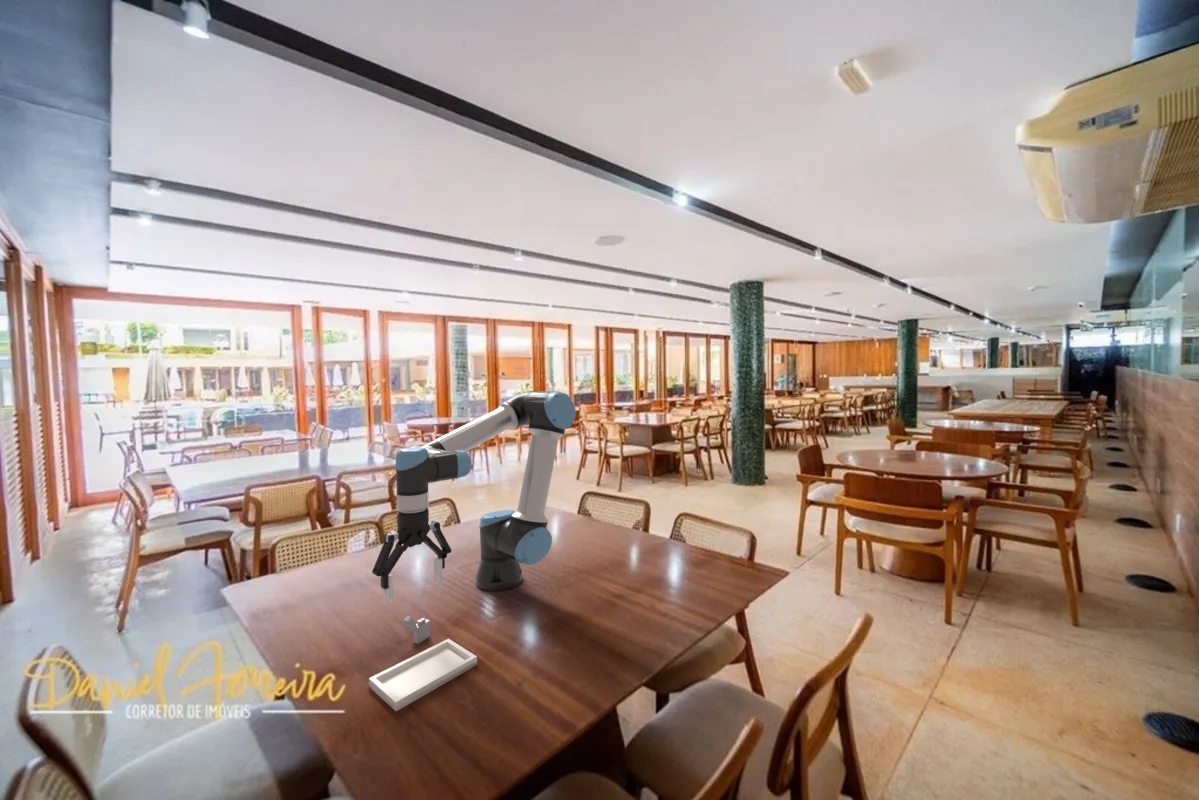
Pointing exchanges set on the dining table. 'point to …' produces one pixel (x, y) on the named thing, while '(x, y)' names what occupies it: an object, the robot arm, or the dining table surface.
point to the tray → (421, 673)
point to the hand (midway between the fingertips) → (414, 590)
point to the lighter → (418, 628)
